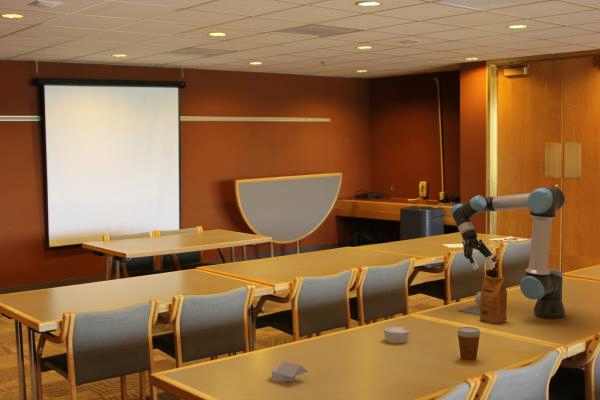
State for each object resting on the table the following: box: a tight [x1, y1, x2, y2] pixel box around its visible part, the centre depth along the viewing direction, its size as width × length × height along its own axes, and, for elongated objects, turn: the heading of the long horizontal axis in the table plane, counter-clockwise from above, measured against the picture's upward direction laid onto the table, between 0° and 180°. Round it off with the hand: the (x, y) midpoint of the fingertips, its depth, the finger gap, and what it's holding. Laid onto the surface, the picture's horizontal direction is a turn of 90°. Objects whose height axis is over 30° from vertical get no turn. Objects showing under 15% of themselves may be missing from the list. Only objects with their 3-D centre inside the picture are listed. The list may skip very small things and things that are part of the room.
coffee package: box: [479, 275, 508, 325], centre depth 375 cm, size 10×12×22 cm
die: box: [474, 291, 481, 308], centre depth 407 cm, size 8×9×10 cm
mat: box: [457, 306, 480, 316], centre depth 395 cm, size 18×12×1 cm, turn 41°
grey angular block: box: [271, 360, 309, 383], centre depth 290 cm, size 9×7×13 cm
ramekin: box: [383, 326, 410, 345], centre depth 342 cm, size 11×11×5 cm
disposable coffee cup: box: [456, 326, 482, 362], centre depth 314 cm, size 10×10×12 cm
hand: (484, 268), depth 392 cm, fingers open, 13 cm apart
